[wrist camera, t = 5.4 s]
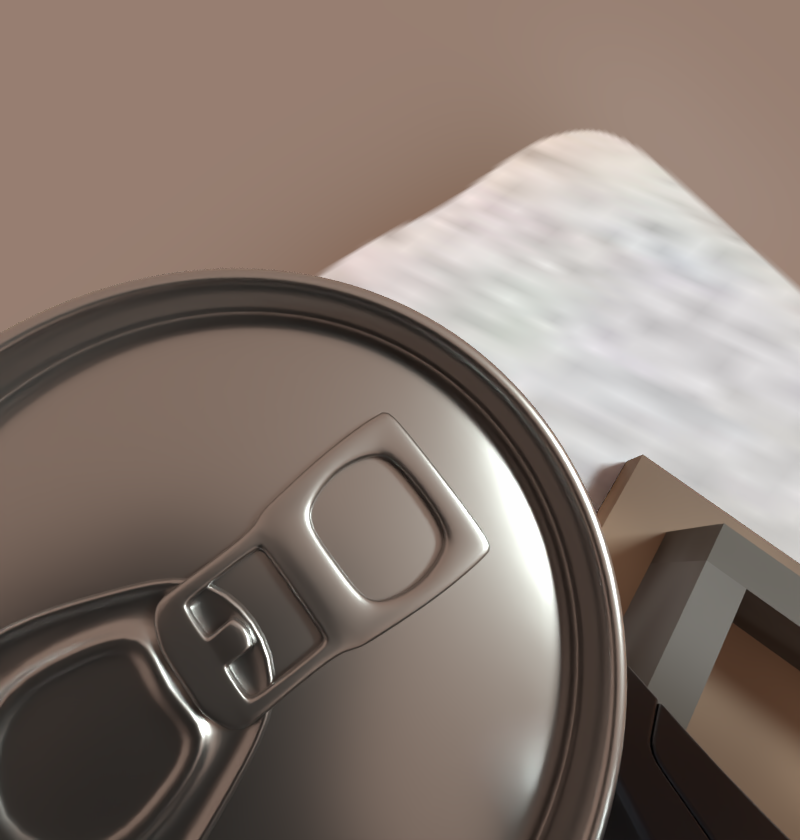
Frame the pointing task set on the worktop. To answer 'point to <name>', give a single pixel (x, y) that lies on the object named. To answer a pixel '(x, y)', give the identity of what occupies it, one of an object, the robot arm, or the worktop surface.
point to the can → (292, 577)
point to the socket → (712, 629)
